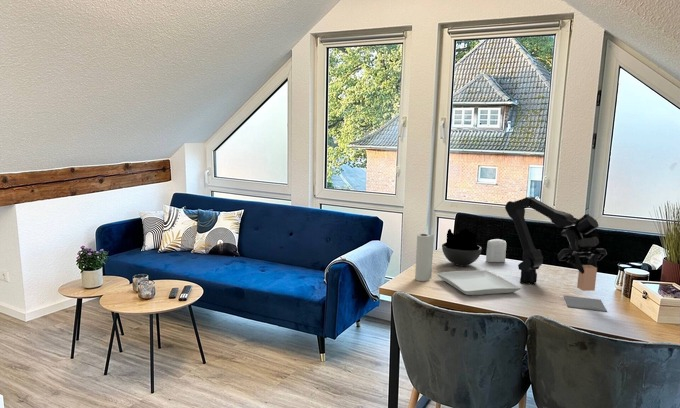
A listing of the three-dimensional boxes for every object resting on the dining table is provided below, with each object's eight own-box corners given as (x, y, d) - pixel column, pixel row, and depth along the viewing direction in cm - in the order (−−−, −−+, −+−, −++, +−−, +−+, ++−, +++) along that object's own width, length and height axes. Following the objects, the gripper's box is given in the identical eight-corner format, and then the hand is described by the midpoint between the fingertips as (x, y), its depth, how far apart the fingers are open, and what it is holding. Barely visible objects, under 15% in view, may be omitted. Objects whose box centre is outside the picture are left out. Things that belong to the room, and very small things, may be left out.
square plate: (464, 299, 200) (465, 290, 199) (434, 279, 226) (435, 271, 225) (521, 295, 207) (522, 286, 206) (486, 276, 233) (486, 268, 232)
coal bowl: (485, 264, 254) (487, 229, 252) (473, 272, 238) (476, 235, 235) (448, 258, 265) (450, 224, 262) (435, 266, 248) (437, 230, 245)
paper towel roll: (414, 280, 222) (416, 235, 219) (416, 277, 228) (418, 232, 225) (429, 282, 220) (432, 236, 217) (431, 278, 226) (433, 234, 223)
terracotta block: (582, 290, 194) (585, 267, 192) (577, 287, 198) (579, 264, 196) (594, 290, 194) (597, 267, 193) (588, 287, 198) (591, 265, 197)
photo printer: (502, 260, 263) (504, 238, 261) (506, 262, 258) (508, 240, 257) (484, 260, 261) (486, 238, 260) (488, 262, 257) (489, 240, 255)
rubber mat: (567, 307, 193) (567, 306, 192) (563, 296, 206) (563, 295, 206) (607, 312, 188) (607, 311, 188) (600, 300, 201) (600, 299, 201)
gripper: (564, 229, 195) (577, 263, 186) (606, 229, 197) (622, 262, 188) (551, 243, 204) (564, 276, 195) (592, 243, 206) (606, 276, 197)
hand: (589, 273), depth 194 cm, fingers closed on terracotta block, 5 cm apart
